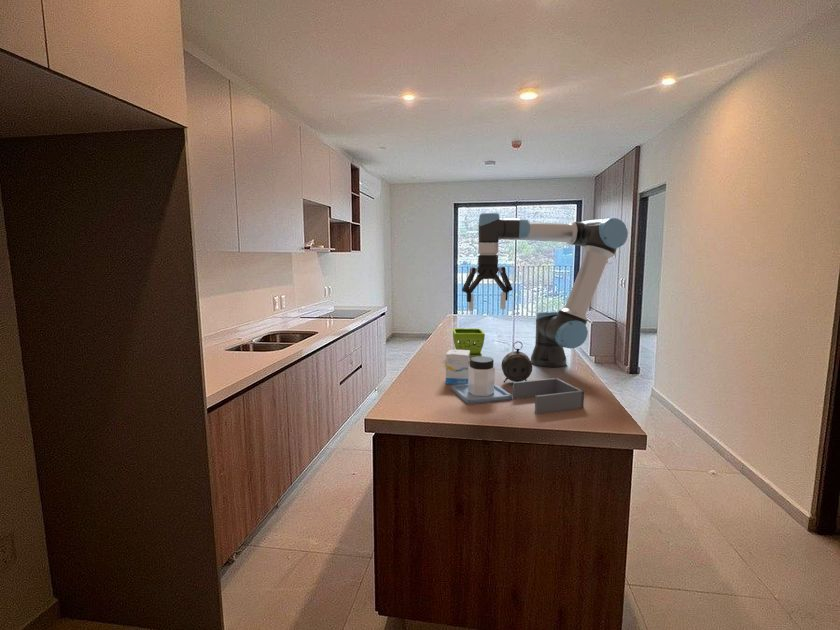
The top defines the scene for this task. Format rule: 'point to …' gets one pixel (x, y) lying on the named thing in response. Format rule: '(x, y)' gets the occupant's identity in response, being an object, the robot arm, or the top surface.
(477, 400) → the tray
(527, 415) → the top surface
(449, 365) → the ink box
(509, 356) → the alarm clock
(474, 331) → the flower pot
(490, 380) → the jar
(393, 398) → the top surface
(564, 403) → the wall
